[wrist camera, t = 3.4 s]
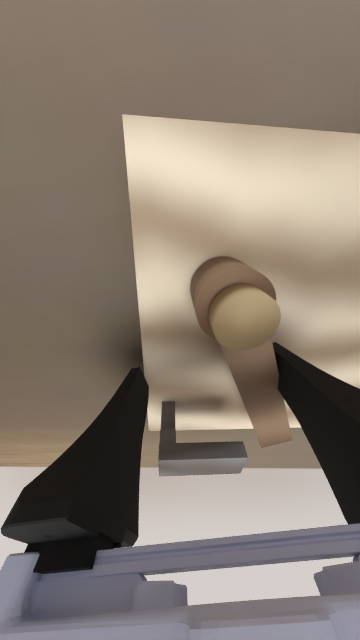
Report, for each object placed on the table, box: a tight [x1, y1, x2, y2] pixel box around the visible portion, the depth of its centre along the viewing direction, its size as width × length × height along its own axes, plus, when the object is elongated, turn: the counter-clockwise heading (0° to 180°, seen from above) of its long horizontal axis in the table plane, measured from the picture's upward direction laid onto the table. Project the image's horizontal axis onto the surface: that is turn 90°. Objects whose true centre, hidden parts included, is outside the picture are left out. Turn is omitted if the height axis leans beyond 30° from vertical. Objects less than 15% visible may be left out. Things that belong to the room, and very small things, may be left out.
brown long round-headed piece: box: [190, 256, 292, 448], centre depth 12 cm, size 15×4×3 cm, turn 24°
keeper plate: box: [122, 114, 360, 476], centre depth 12 cm, size 23×20×6 cm
